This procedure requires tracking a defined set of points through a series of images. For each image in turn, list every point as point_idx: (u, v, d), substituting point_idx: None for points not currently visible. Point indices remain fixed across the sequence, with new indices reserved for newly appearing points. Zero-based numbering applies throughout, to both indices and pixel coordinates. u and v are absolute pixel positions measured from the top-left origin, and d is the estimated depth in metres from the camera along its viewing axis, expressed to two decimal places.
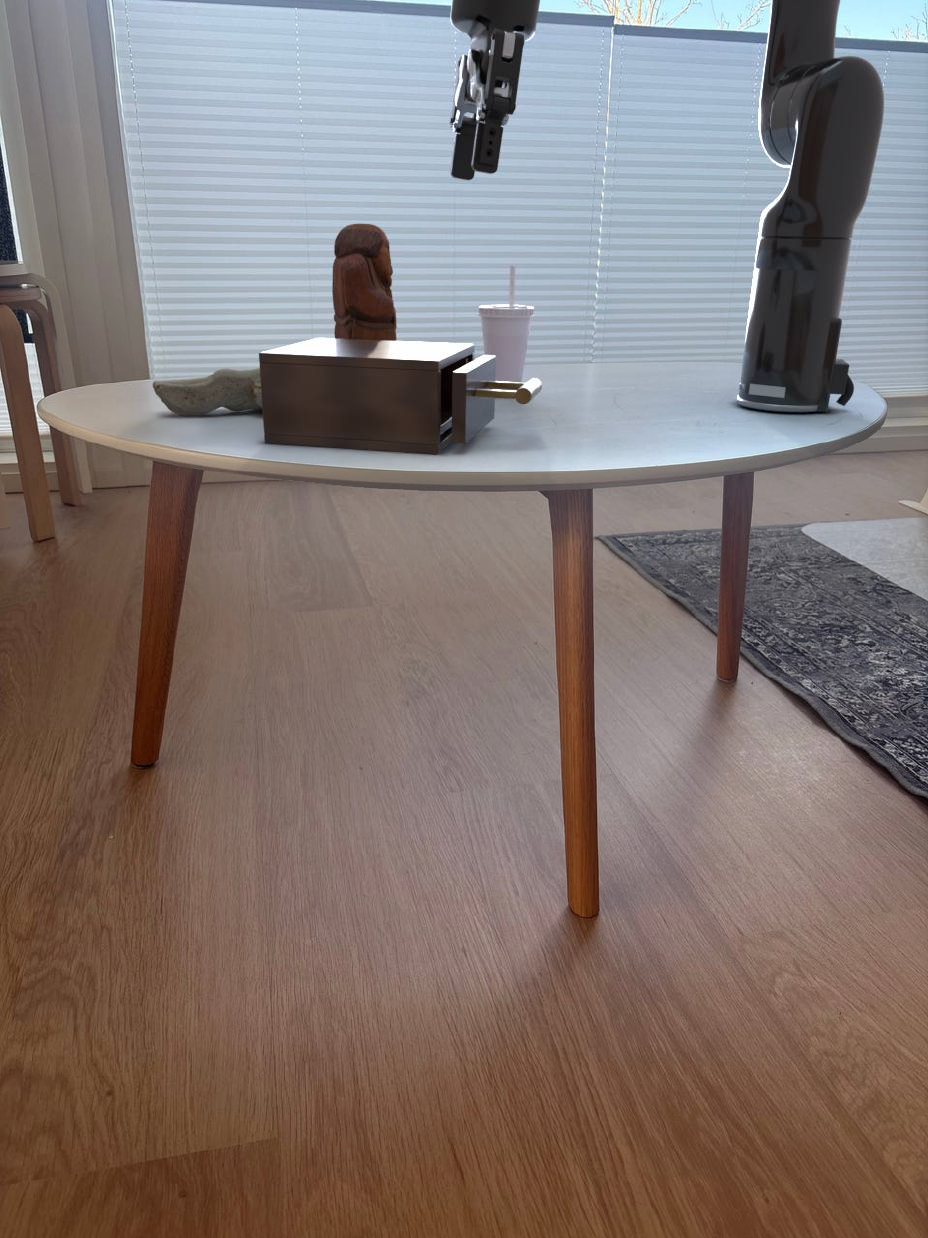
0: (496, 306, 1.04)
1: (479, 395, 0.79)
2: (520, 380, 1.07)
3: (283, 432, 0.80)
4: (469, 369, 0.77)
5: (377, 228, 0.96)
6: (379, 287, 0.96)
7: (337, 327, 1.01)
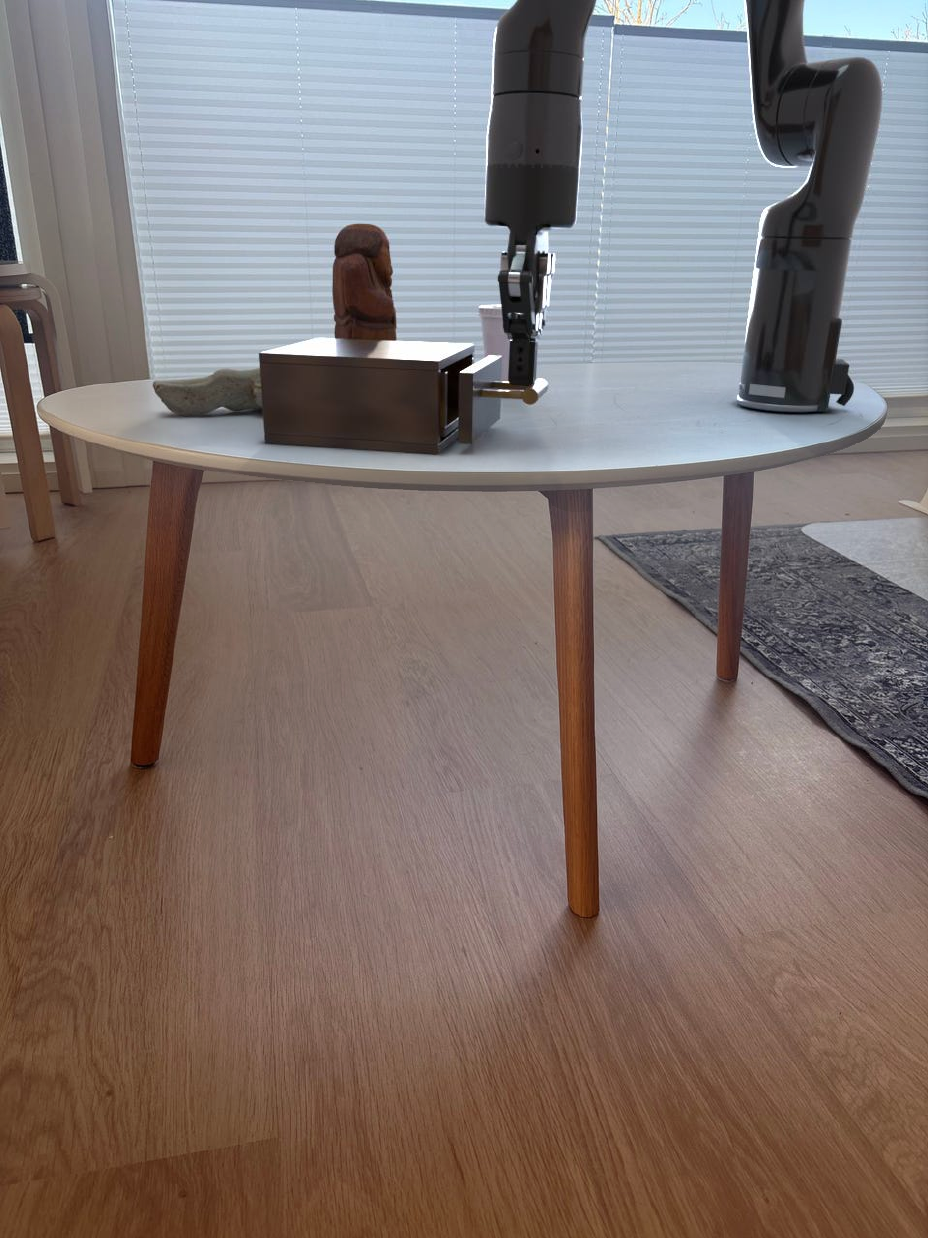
0: (496, 306, 1.04)
1: (485, 395, 0.79)
2: None
3: (283, 432, 0.80)
4: (476, 369, 0.77)
5: (377, 228, 0.96)
6: (379, 287, 0.96)
7: (337, 327, 1.01)
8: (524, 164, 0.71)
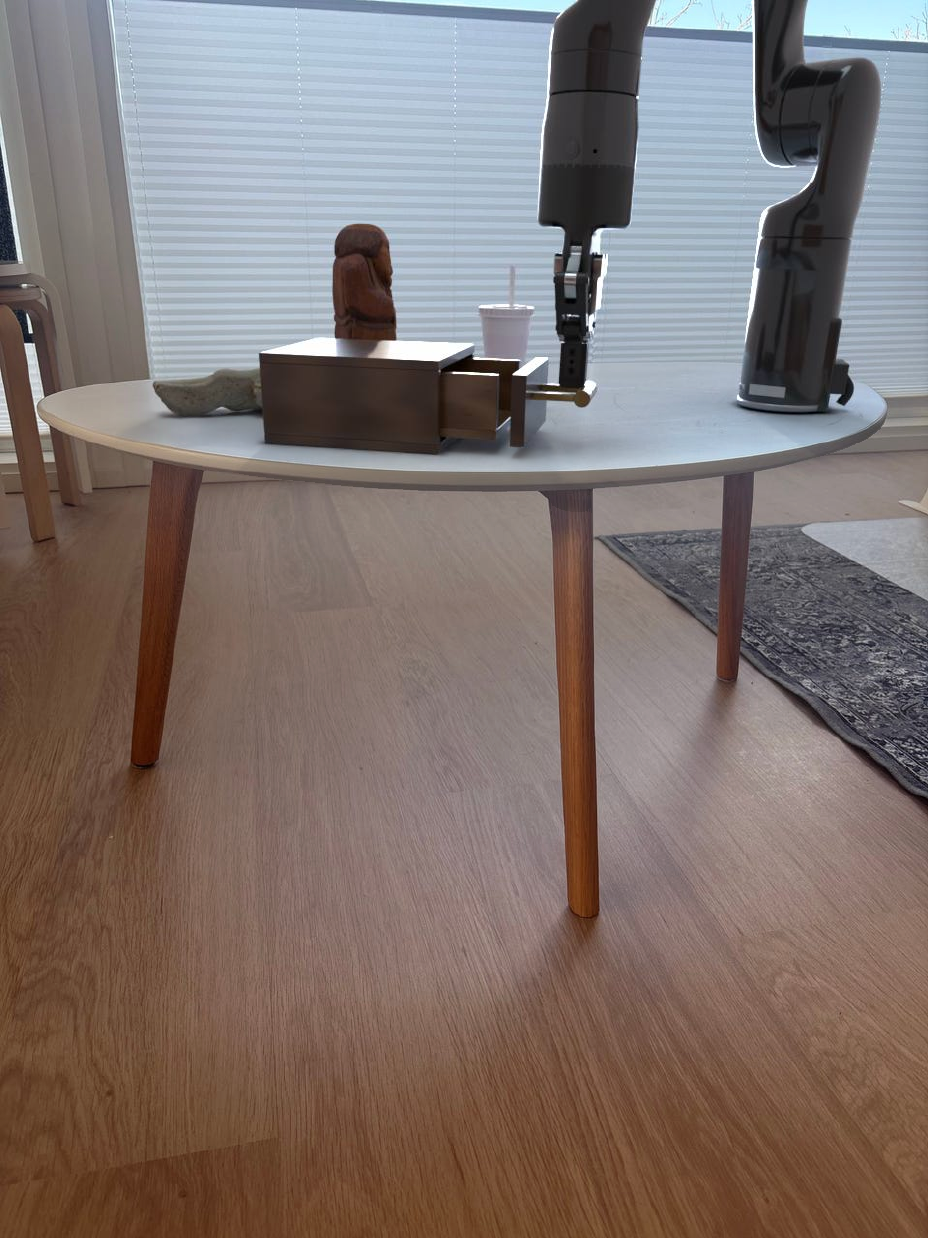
0: (496, 306, 1.04)
1: (536, 398, 0.78)
2: None
3: (283, 432, 0.80)
4: (528, 372, 0.76)
5: (377, 228, 0.96)
6: (379, 287, 0.96)
7: (337, 327, 1.01)
8: (581, 164, 0.70)
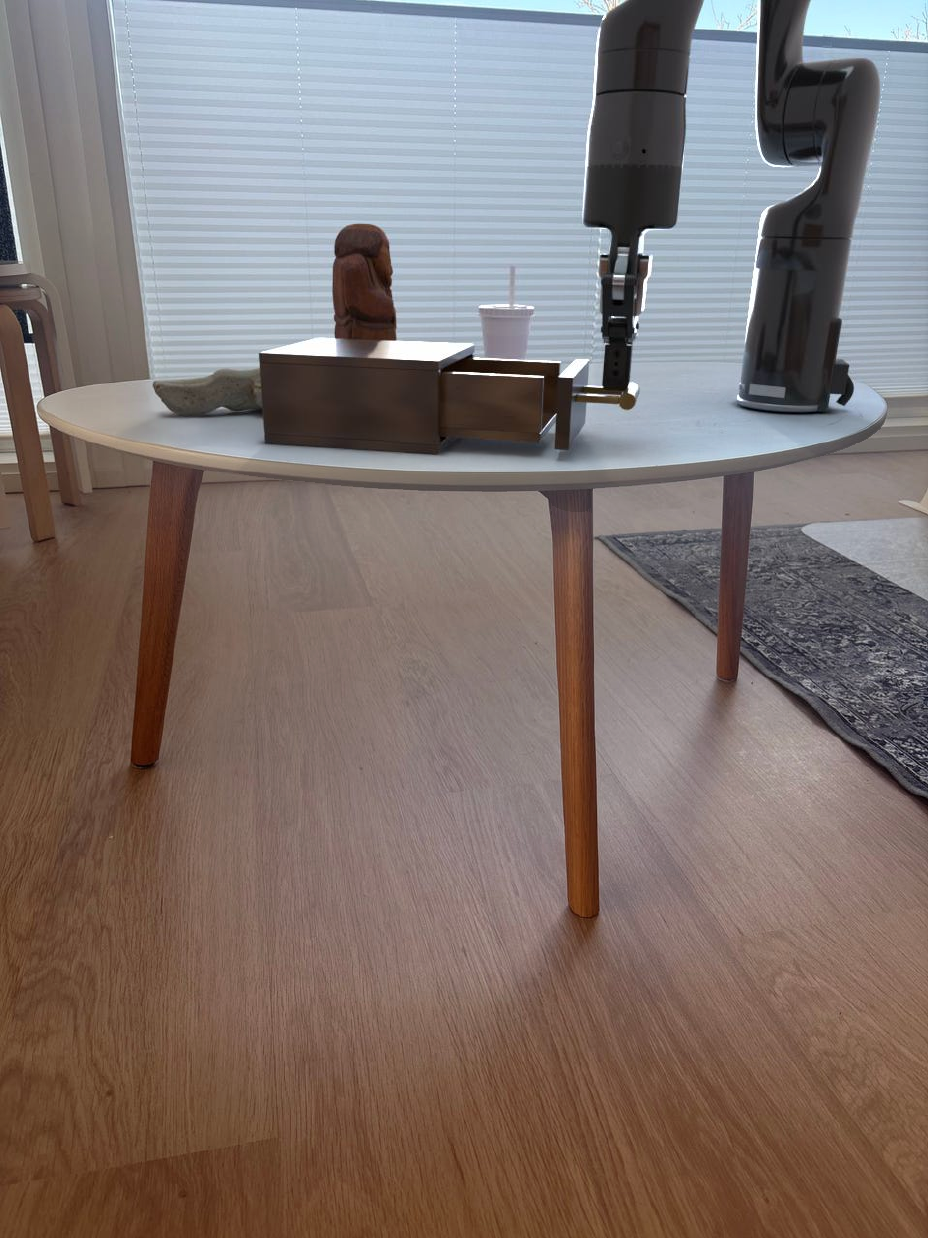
0: (496, 306, 1.04)
1: (581, 400, 0.77)
2: None
3: (283, 432, 0.80)
4: (573, 374, 0.75)
5: (377, 228, 0.96)
6: (379, 287, 0.96)
7: (337, 327, 1.01)
8: (630, 164, 0.69)
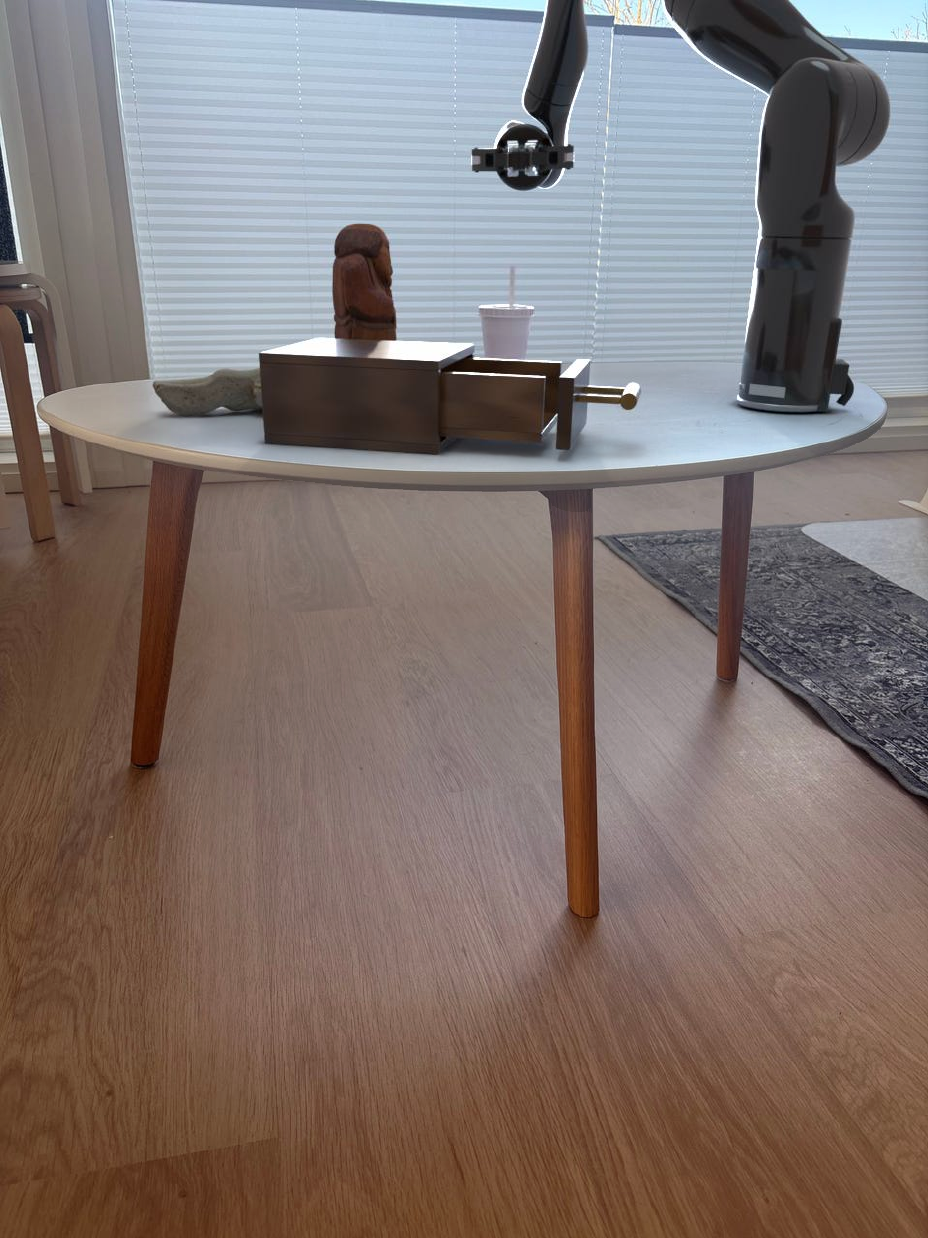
0: (496, 306, 1.04)
1: (582, 400, 0.77)
2: None
3: (283, 432, 0.80)
4: (574, 374, 0.75)
5: (377, 228, 0.96)
6: (379, 287, 0.96)
7: (337, 327, 1.01)
8: None
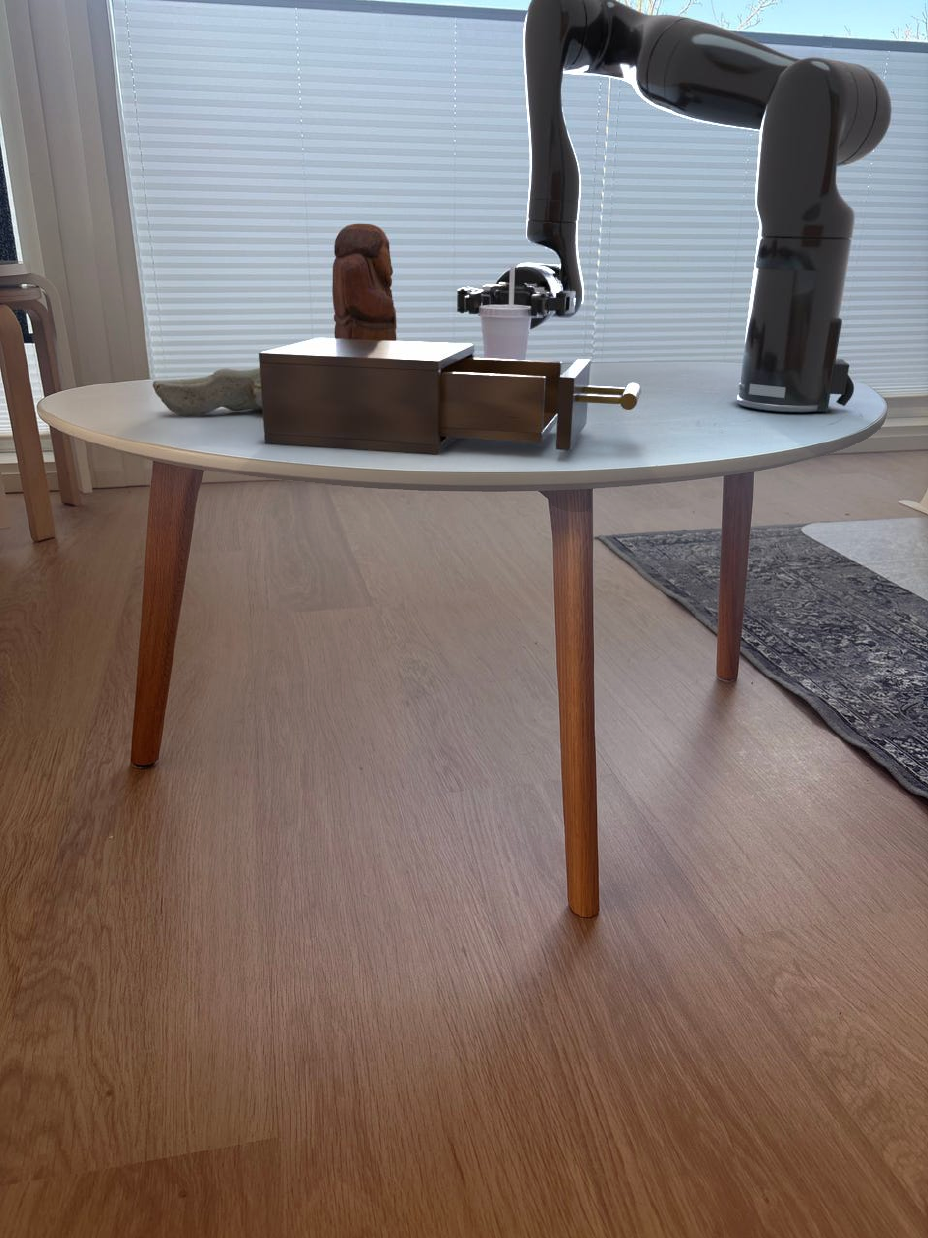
0: (496, 306, 1.04)
1: (582, 400, 0.77)
2: None
3: (283, 432, 0.80)
4: (574, 374, 0.75)
5: (377, 228, 0.96)
6: (379, 287, 0.96)
7: (337, 327, 1.01)
8: None
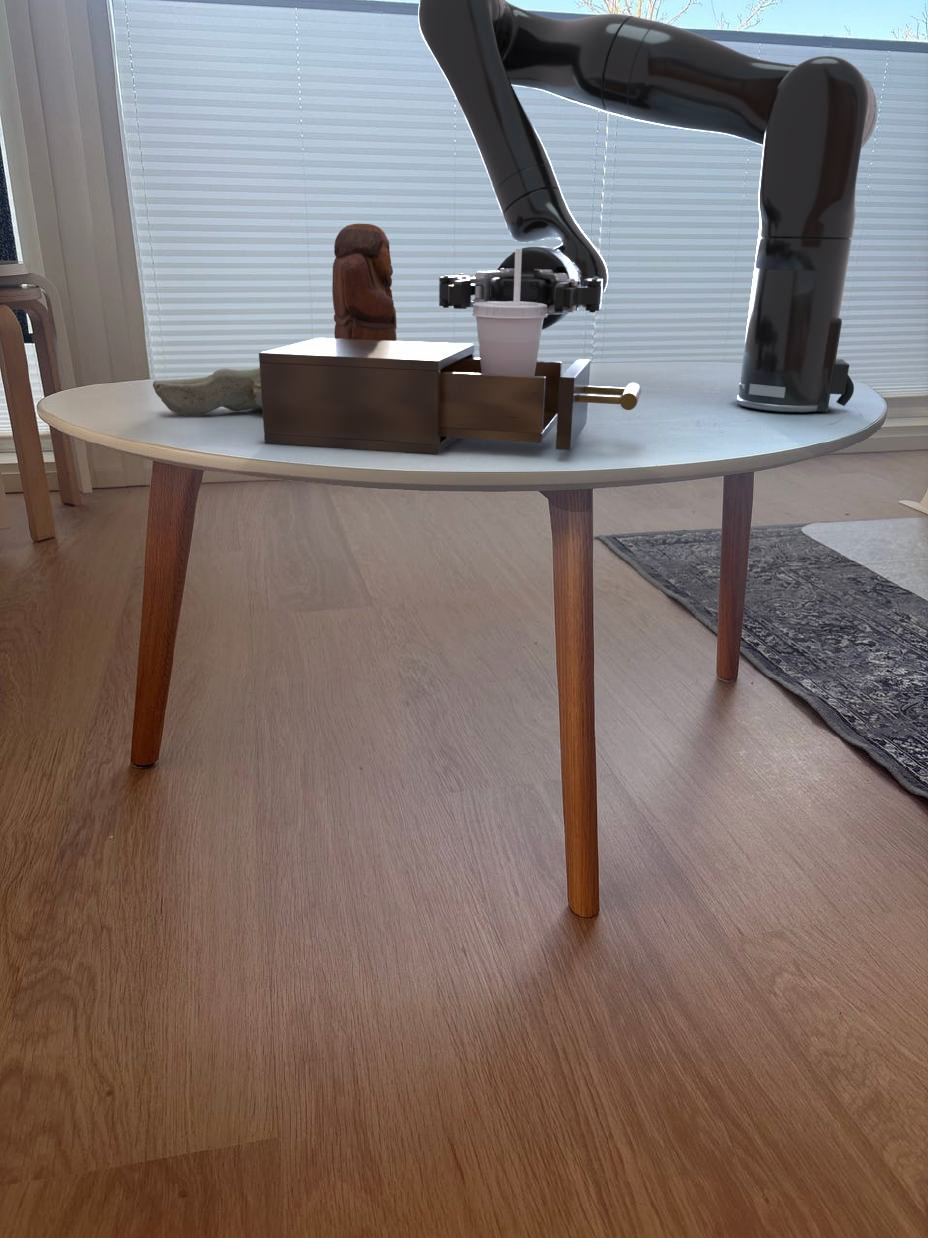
0: (497, 304, 0.78)
1: (582, 400, 0.77)
2: None
3: (283, 432, 0.80)
4: (574, 374, 0.75)
5: (377, 228, 0.96)
6: (379, 287, 0.96)
7: (337, 327, 1.01)
8: None
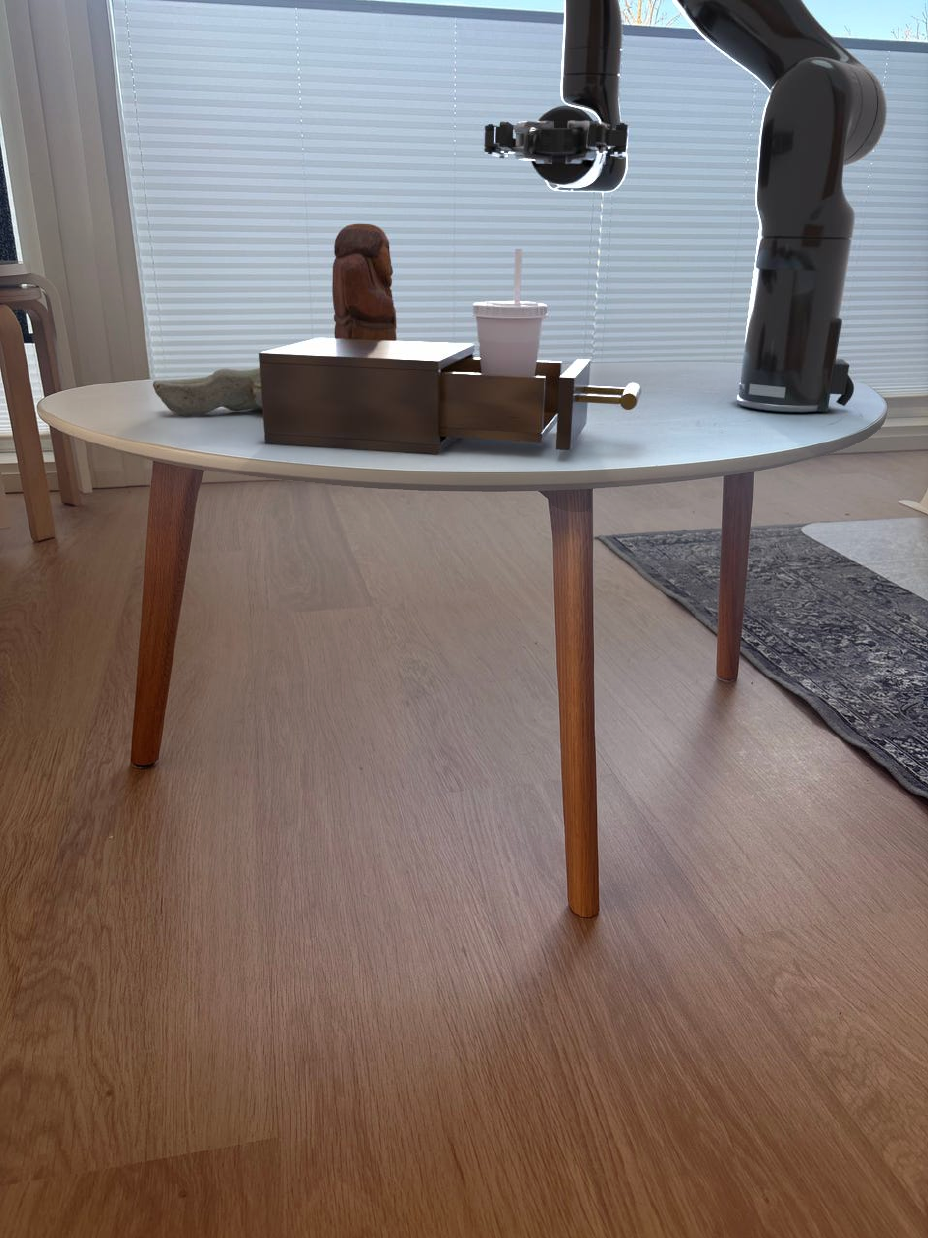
0: (497, 304, 0.78)
1: (582, 400, 0.77)
2: None
3: (283, 432, 0.80)
4: (574, 374, 0.75)
5: (377, 228, 0.96)
6: (379, 287, 0.96)
7: (337, 327, 1.01)
8: None
